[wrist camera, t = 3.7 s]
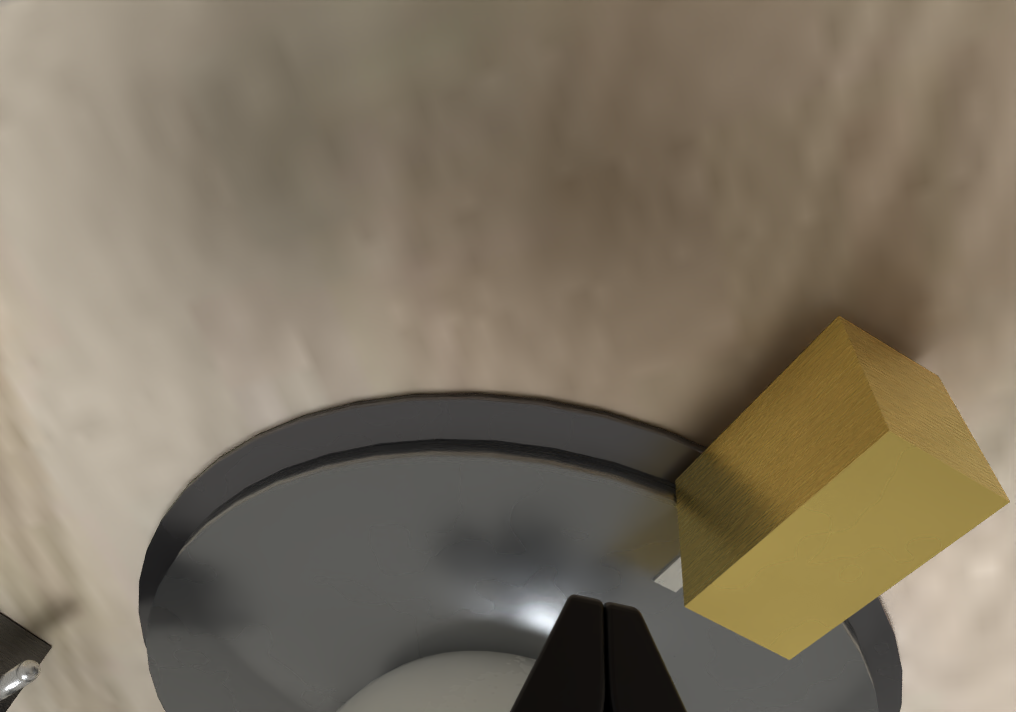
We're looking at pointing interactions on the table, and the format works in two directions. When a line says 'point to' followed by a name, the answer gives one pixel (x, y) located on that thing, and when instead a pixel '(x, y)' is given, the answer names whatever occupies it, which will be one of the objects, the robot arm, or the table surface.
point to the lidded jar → (447, 684)
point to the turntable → (586, 549)
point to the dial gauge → (17, 660)
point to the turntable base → (471, 422)
